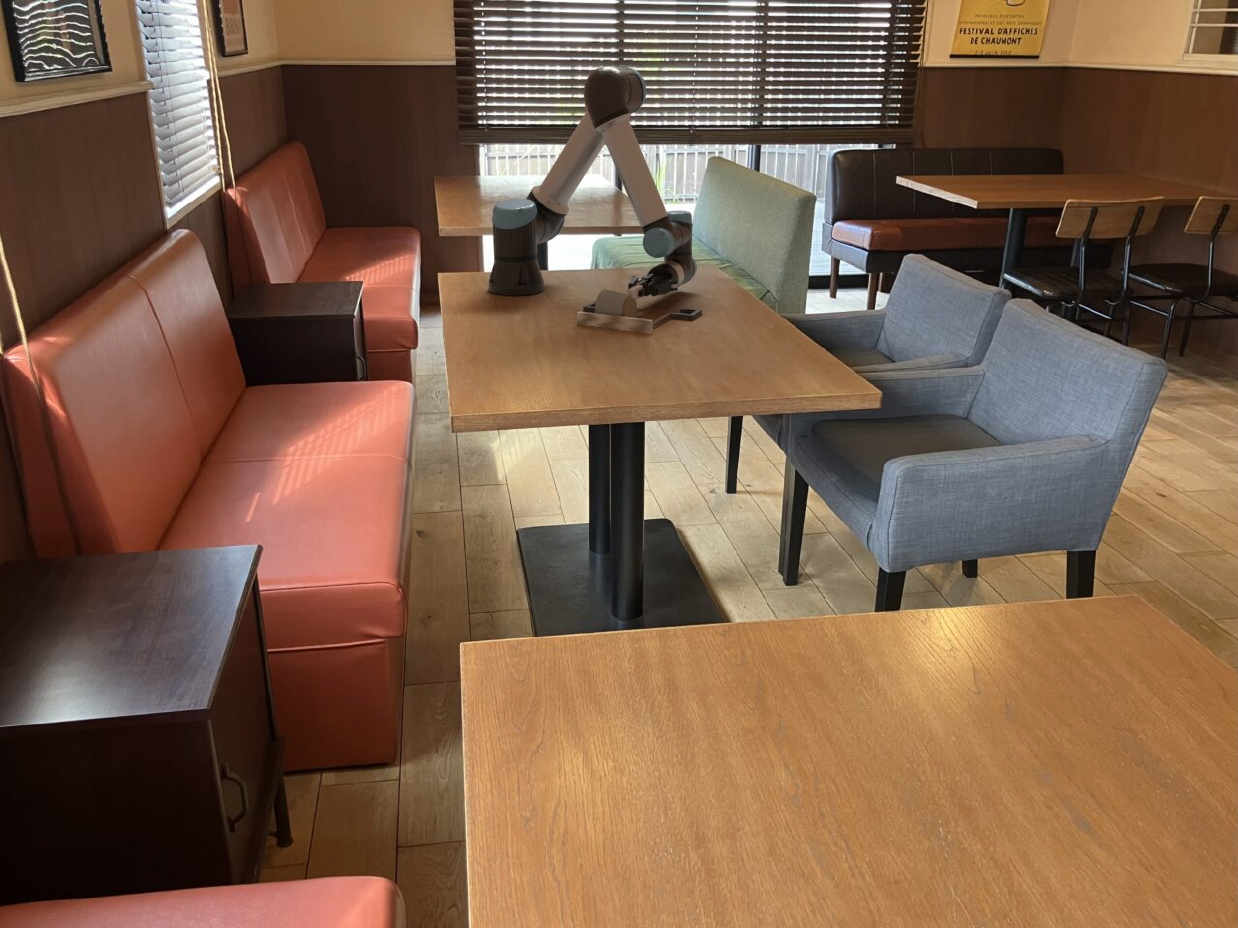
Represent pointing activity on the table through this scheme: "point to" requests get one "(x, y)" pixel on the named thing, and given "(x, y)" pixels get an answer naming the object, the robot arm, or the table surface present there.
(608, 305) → the ceramic mug
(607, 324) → the frame with square trays
